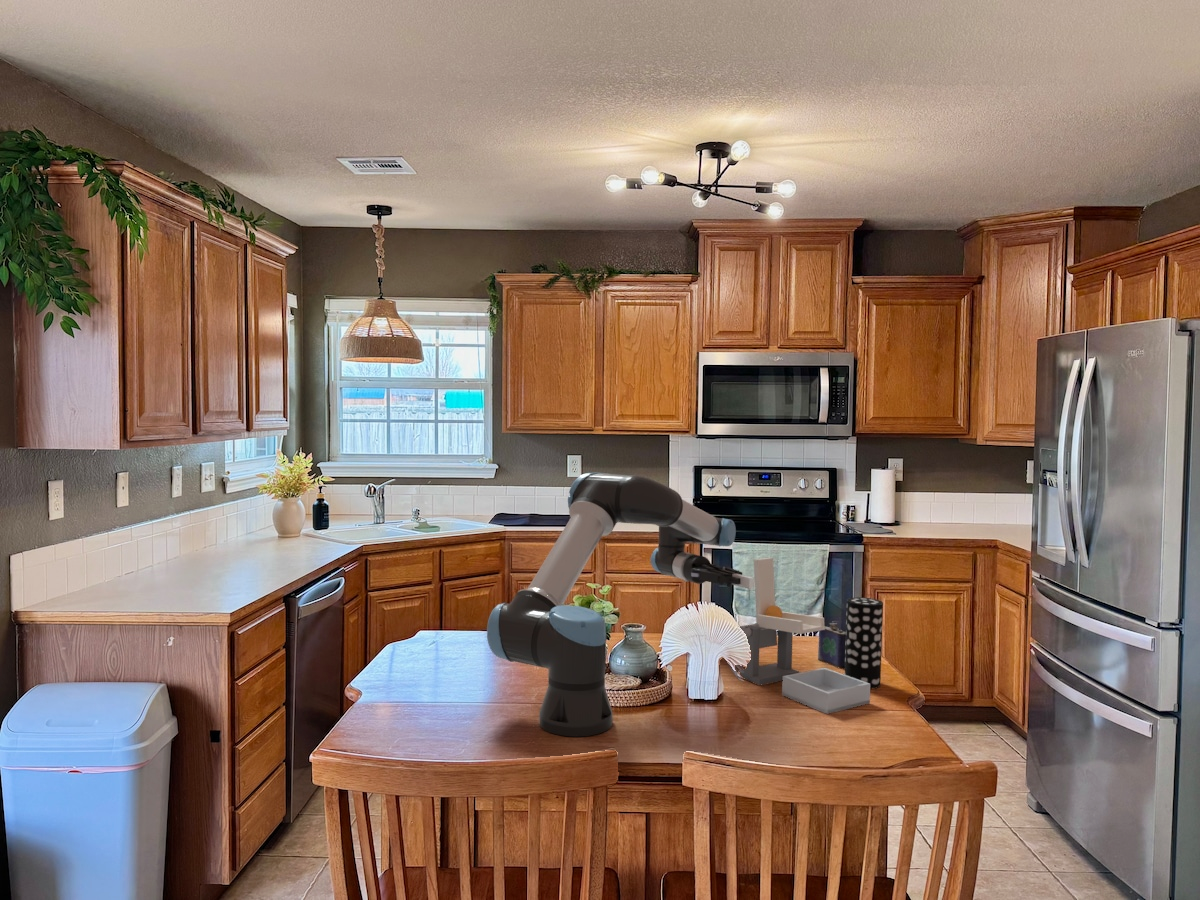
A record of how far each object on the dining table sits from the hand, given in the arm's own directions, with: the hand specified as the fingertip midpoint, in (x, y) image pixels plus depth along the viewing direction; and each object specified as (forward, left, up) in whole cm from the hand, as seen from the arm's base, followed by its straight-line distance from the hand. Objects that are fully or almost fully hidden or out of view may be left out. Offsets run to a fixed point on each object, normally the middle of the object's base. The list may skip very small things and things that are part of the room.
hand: (751, 583), depth 212 cm
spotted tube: (-17, -22, -22) cm, 35 cm away
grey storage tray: (-25, -6, -22) cm, 34 cm away
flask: (-1, -24, -22) cm, 32 cm away
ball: (-8, -2, -6) cm, 10 cm away
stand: (-7, -2, -22) cm, 23 cm away
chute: (-11, -3, -14) cm, 18 cm away
